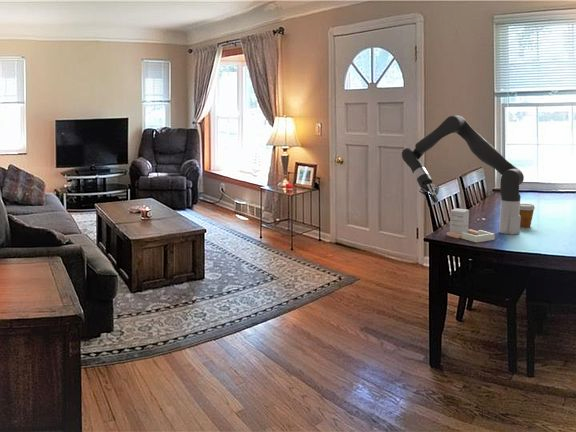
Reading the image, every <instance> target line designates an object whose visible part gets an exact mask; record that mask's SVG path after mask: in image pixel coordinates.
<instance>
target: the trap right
mask: <svg viewBox="0 0 576 432" xmlns="http://www.w3.org/2000/svg"><path fill="white" fill-rule="evenodd" d="M468 234H472V235H475V236H478V230H475V229H471V228H470V229H469V228H468Z"/></svg>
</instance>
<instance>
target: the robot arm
mask: <svg viewBox="0 0 576 432" xmlns="http://www.w3.org/2000/svg"><path fill="white" fill-rule="evenodd" d="M453 133H454V134H458V136H460V137H461V138H462V139H463V140H464V141H465V142H466V144H467V145H468V148H469V149H470V151H471V153H472V154H473V155H474V156H476V158H478V159H479V160H480V161H481V162H482V163H484V164H486V165H488V166H490V167H491V168H492V169H494V170H495V171H497V172H498V173H499V175H501V177H500V190H499V191H500V192H499V193H500V212H499V226H498V228H499V229H498V230H499V231H498V232H499V233H501V234H503V235H509V236H510V235H511V236H512V235H518V234H520V233H521V227H520V221H521V216H520V215H519V212H520V204H521V194H520V185H522V184H523V183H524V180H525V178H524V177H525V176H524V174H523V172H522V171H521V170H520V169H519V168H517V167H516V166H515V165H514V164H512V163H511V162H509V160H507V159H506V158H505V157H504V156H503V155H502V154H501V153H500V152H499V151H498V150H497V149H496V148H495V147H494V146H493V145H492V144H491V143H490V142H489V141H487V140H486V139H485V138H484V137H483V136H482V135H481V134H480V133H478V132H477V131H476V130H475V129H474V128H473V127H472V126H471V125H470V123H468V121H467V120H466V119H465V118H464V117H463V116H461V115H449V116H448V117H447V118H446V119H444V120H443V121H442V122H441V123H440V124H439V125H438V126H437V127H436V128H435V129H434V130H433V131H431V132H430V133H429V134H428V135H426V136H425V137H423V138H421V139H420V140H419V141H418V142H416V144H414V145H415V146H414V147H415V148H413V149H412V148H404V149H403V150H402V151H401V158H402V160H403V161H404V163H405V164H406V165H407V166H408V167H409V168H410V171H411V172H412V174H413V177H414V179H415V180H416V182H417V184H418V186H419V187H420V189H419V190H418V191H419V192H420V193H421V194H422V195H423V196H425V192H428V191H429V192H430V193H431V194H430V193H429V195H430V197H431V198H430V197H429V198H430V199H431V201H432V202H433V204H437V203H438V202H439V199H438V196H437V195H438V194H439V192H440V186H435V184H434V183H433V179H432V176H431V175H430V174H429V172H428V171H427V169H426V167H425V166H424V164H423V163H422V161H420V159H421V158H422V156H423V155H424V154H425V153H427V152H428V151H429V150H431V149H433V148H434V146H435V145H437V144H438V143H439V141H441V140H442V139H443V138H445V137H447V136H448V135H450V134H453Z"/></svg>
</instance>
